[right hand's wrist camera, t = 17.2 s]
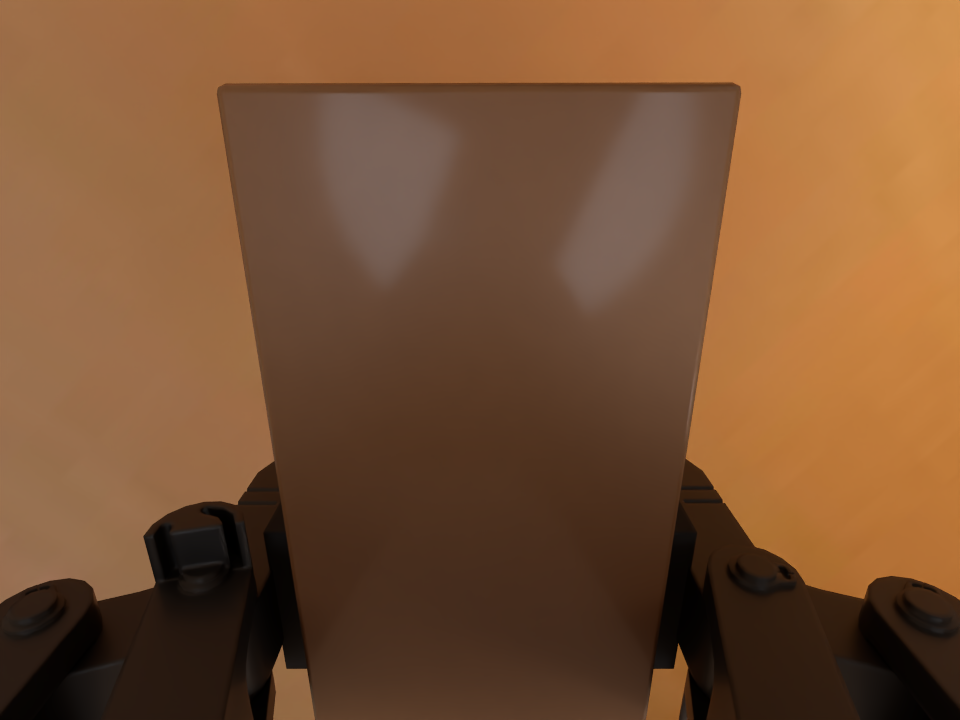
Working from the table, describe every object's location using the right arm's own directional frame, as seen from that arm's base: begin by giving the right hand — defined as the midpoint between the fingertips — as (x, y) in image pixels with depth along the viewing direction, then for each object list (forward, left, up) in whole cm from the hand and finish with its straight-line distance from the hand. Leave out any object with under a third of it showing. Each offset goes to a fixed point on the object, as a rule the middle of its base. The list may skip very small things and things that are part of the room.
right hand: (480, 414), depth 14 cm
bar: (+15, +11, 0) cm, 19 cm away
